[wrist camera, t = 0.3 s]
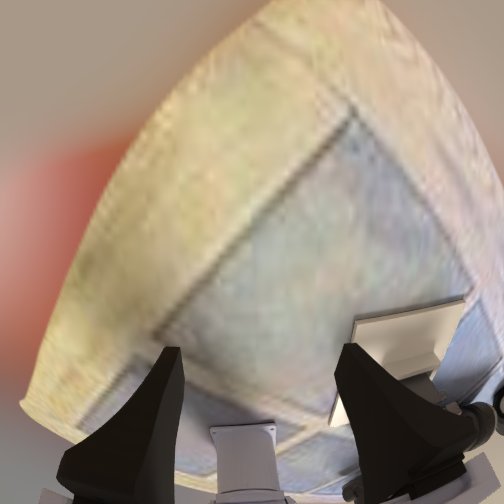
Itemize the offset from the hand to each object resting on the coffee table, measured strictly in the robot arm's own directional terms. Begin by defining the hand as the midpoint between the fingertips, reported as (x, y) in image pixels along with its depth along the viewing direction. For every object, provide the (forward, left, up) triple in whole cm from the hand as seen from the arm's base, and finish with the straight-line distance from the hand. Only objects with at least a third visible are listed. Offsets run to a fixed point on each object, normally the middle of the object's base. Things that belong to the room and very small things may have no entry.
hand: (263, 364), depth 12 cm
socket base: (-16, -16, -10) cm, 25 cm away
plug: (-17, -19, -9) cm, 27 cm away
